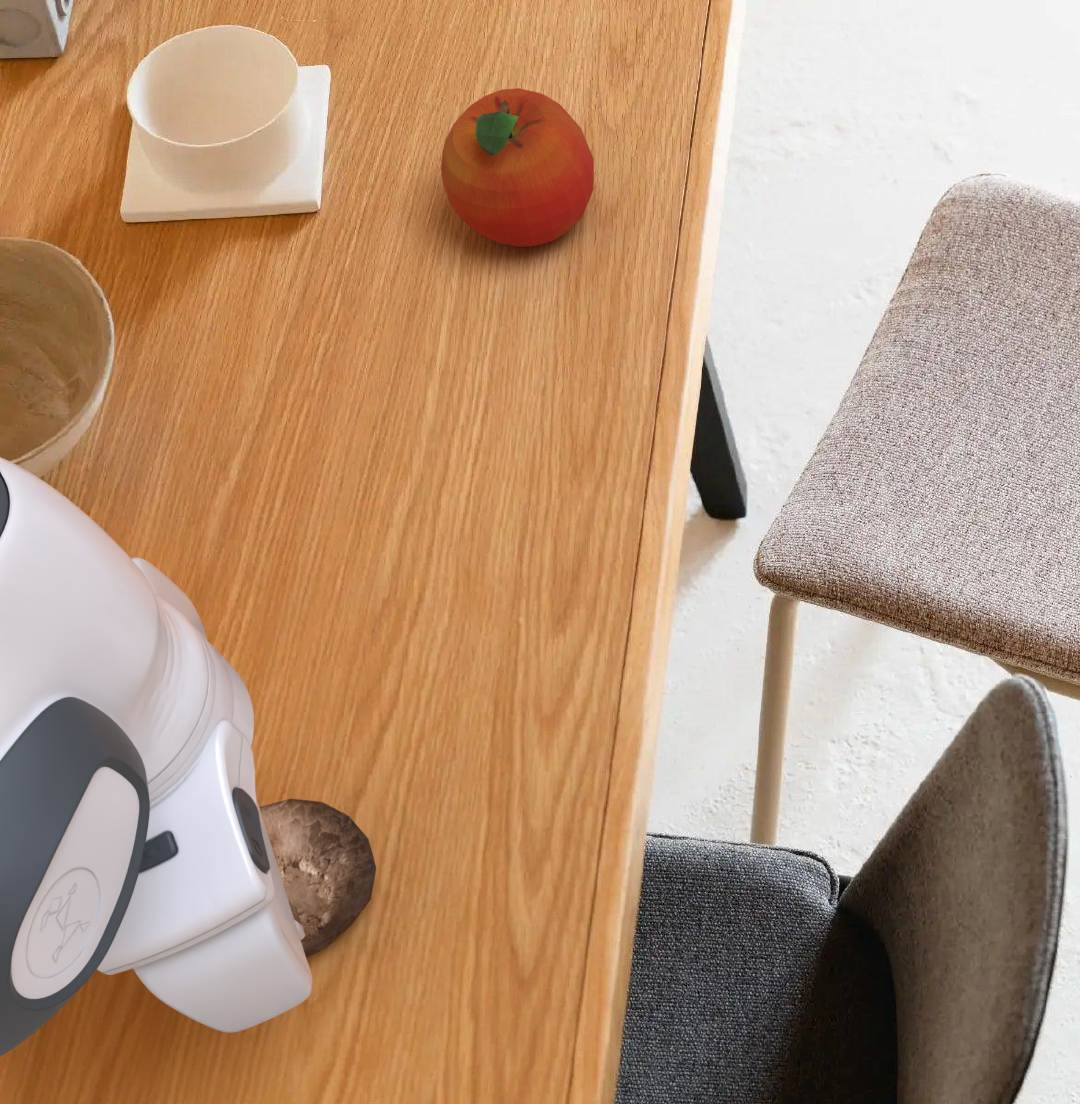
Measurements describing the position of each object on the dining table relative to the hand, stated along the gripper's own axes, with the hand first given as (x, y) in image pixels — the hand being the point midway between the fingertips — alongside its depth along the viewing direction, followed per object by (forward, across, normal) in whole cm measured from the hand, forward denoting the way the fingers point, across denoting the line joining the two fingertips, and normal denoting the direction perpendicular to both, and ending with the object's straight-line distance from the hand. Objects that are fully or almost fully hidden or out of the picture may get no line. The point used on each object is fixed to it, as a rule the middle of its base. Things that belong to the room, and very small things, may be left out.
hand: (256, 839), depth 68 cm
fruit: (+9, -38, +26) cm, 46 cm away
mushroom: (+8, 0, 0) cm, 8 cm away
